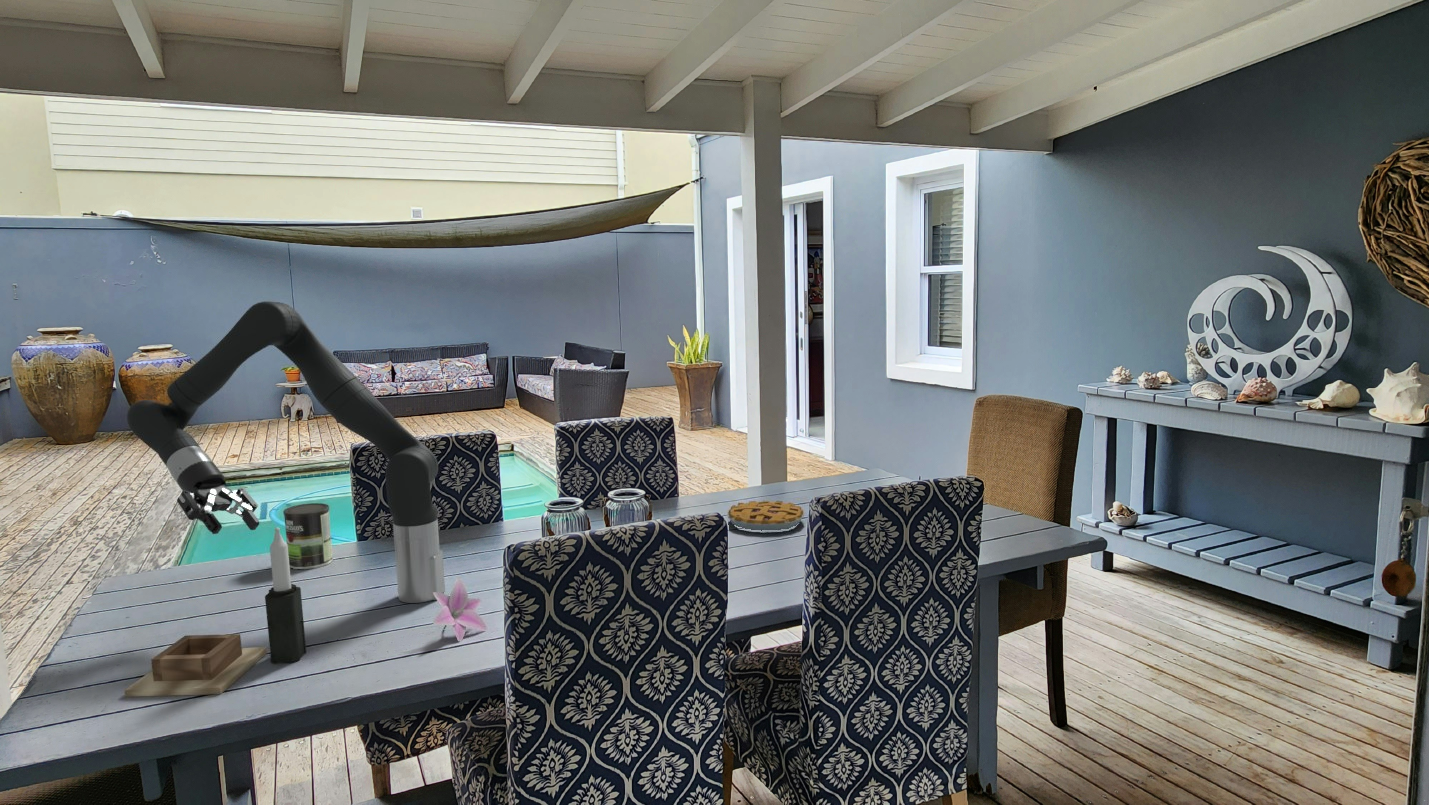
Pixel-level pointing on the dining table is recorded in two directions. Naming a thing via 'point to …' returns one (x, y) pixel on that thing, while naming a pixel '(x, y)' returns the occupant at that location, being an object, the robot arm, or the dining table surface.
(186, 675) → the candle stand
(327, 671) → the dining table surface
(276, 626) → the candle
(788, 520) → the pie
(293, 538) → the coffee can
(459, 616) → the lily
